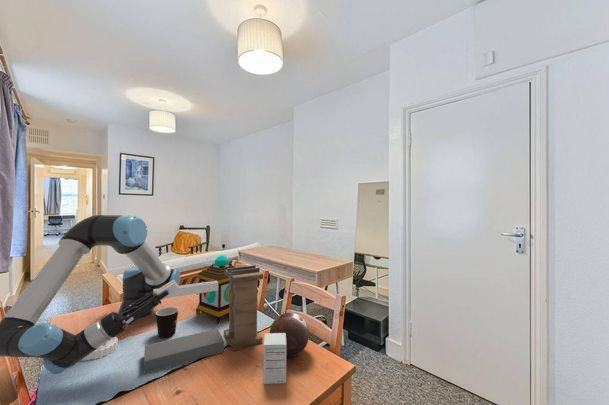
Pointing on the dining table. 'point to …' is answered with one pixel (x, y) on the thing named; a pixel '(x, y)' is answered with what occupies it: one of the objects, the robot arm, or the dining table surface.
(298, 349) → the wooden sphere
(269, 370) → the supplement box
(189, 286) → the bar
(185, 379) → the dining table surface
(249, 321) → the pedestal
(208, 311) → the decorative lantern
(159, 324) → the coffee mug
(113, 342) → the mooncake
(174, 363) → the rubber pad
